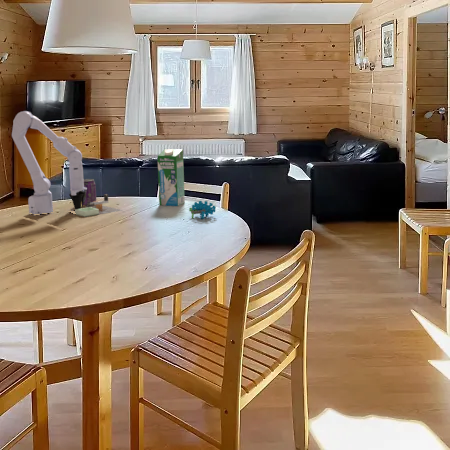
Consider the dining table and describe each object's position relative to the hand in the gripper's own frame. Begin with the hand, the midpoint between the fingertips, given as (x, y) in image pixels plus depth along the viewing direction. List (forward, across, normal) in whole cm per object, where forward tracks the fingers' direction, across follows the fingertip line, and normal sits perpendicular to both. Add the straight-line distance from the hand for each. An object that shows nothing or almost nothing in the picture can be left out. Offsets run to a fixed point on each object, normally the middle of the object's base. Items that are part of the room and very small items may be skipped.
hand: (78, 209), depth 265 cm
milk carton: (+2, +18, -39) cm, 43 cm away
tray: (+1, -7, -5) cm, 9 cm away
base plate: (+2, 0, -6) cm, 7 cm away
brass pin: (+1, 0, 0) cm, 1 cm away
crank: (-2, +3, -8) cm, 9 cm away
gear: (+2, -13, -54) cm, 56 cm away
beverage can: (+2, +16, -1) cm, 16 cm away
